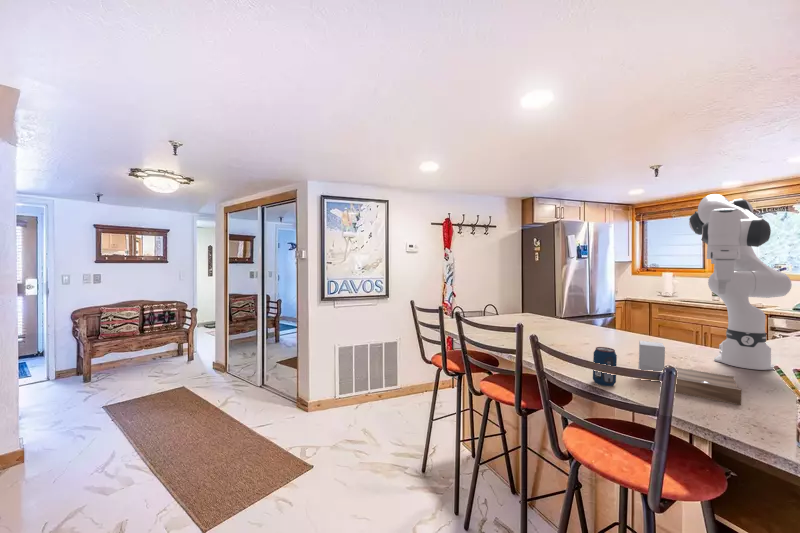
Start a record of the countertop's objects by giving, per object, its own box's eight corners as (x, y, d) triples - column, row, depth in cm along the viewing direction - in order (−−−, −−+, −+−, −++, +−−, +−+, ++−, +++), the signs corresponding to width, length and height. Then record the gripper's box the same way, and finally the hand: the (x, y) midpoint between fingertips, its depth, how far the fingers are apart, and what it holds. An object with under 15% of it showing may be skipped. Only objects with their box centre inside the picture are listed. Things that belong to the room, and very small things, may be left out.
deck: (675, 374, 138) (676, 362, 138) (733, 383, 128) (733, 370, 128) (673, 392, 119) (674, 378, 119) (740, 405, 109) (741, 390, 109)
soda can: (601, 379, 130) (602, 345, 130) (620, 385, 124) (621, 350, 124) (588, 381, 127) (589, 347, 127) (606, 388, 121) (608, 352, 121)
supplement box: (662, 377, 134) (663, 342, 133) (664, 383, 127) (665, 346, 127) (637, 373, 138) (639, 340, 137) (638, 379, 131) (640, 344, 131)
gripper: (709, 254, 139) (708, 291, 140) (713, 253, 123) (711, 295, 123) (732, 254, 135) (730, 292, 136) (738, 254, 119) (736, 296, 120)
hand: (721, 293), depth 129 cm, fingers closed
